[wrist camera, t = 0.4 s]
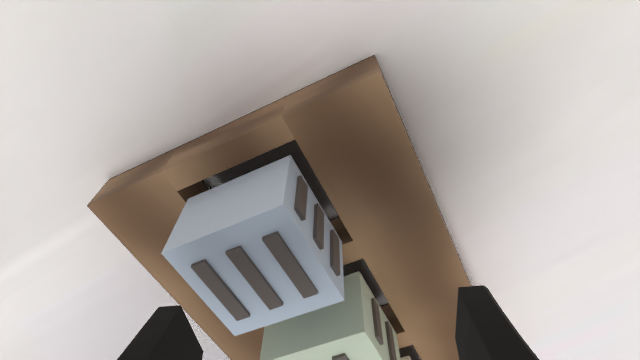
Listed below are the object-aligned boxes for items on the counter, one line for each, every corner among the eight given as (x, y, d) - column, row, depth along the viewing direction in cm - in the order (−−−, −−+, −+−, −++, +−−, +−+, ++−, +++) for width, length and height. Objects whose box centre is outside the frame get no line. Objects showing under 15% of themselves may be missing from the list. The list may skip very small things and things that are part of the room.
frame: (310, 411, 31) (309, 443, 29) (108, 180, 21) (86, 205, 19) (502, 361, 28) (515, 393, 26) (374, 54, 18) (379, 71, 16)
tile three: (247, 275, 21) (234, 339, 18) (188, 198, 18) (159, 256, 15) (344, 240, 20) (348, 302, 16) (294, 153, 17) (286, 205, 14)
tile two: (312, 358, 24) (310, 424, 21) (268, 302, 22) (258, 366, 19) (399, 332, 23) (410, 399, 20) (362, 270, 20) (368, 333, 17)
